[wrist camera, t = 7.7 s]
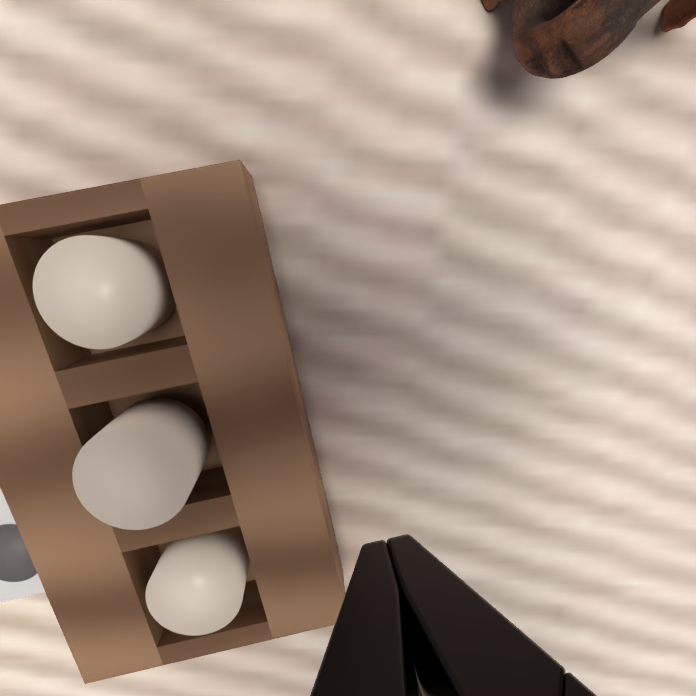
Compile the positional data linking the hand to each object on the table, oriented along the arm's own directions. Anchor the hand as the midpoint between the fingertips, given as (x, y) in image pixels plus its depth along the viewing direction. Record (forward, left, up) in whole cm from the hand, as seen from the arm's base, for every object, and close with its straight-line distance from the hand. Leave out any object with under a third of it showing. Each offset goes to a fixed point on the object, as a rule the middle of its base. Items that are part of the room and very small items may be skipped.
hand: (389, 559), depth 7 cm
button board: (-1, +8, -13) cm, 15 cm away
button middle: (-1, +8, -11) cm, 13 cm away
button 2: (-7, +8, -12) cm, 17 cm away
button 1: (+6, +8, -12) cm, 16 cm away
